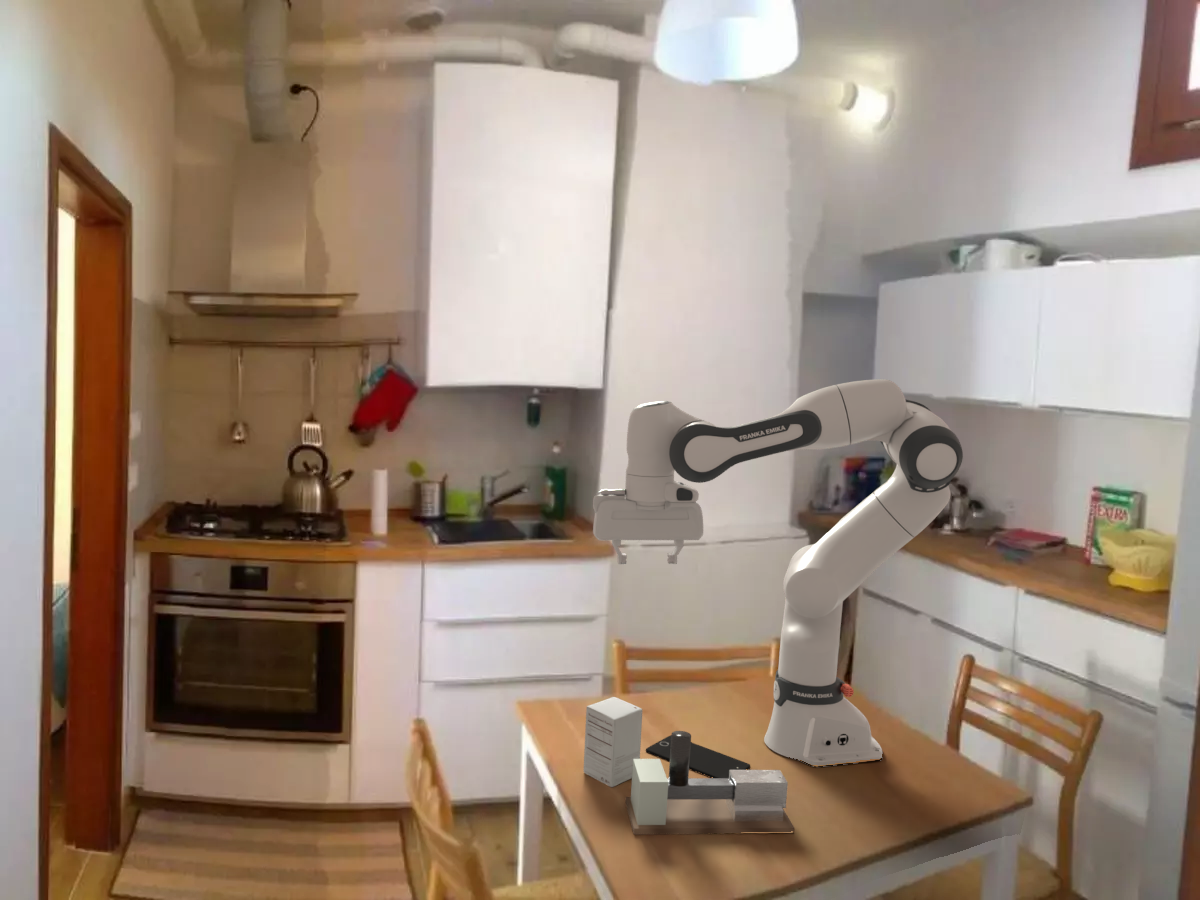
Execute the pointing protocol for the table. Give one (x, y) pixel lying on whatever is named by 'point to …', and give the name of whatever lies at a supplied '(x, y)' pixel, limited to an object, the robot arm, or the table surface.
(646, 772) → the socket
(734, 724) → the table surface
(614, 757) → the supplement box
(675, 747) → the slide bolt
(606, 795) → the table surface
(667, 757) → the cell phone
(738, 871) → the table surface
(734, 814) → the sleeve
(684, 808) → the base board
